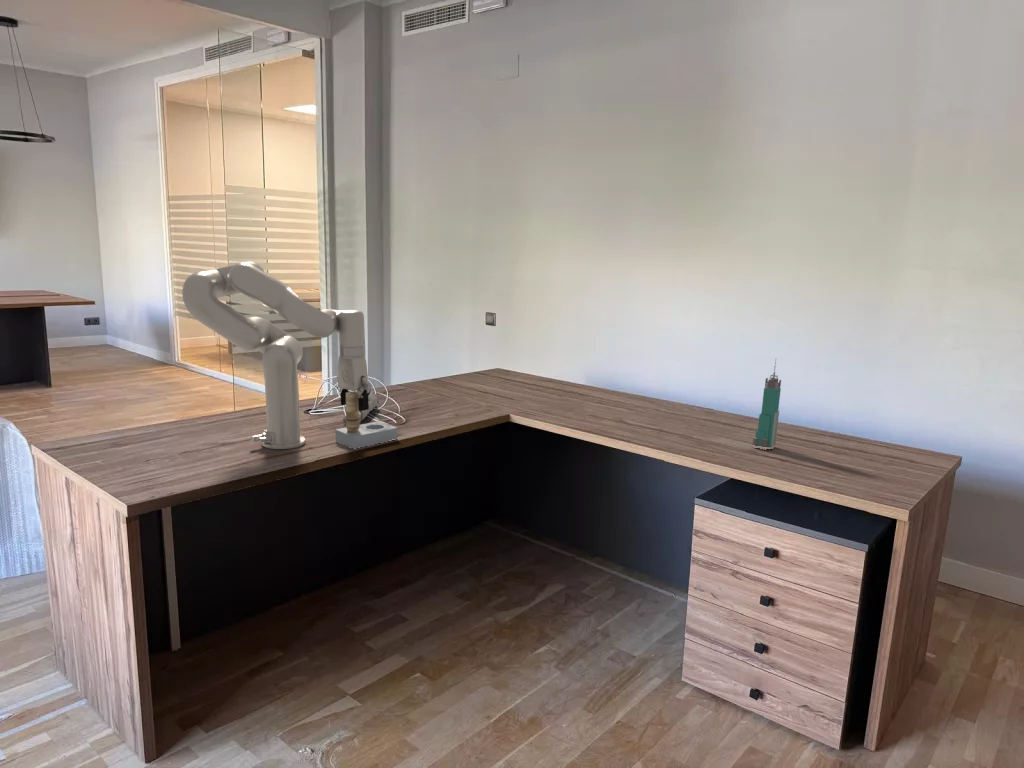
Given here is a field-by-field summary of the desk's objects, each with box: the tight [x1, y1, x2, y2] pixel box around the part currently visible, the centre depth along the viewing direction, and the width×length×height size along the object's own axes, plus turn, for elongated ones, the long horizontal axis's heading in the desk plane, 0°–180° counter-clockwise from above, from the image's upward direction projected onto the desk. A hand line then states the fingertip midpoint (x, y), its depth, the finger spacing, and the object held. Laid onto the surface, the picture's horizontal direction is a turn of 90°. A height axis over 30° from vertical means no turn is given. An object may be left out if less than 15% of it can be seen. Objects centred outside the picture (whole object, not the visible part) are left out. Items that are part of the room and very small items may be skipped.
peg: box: [345, 391, 361, 433], centre depth 214 cm, size 4×4×12 cm
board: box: [335, 420, 398, 449], centre depth 219 cm, size 16×10×4 cm, turn 135°
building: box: [752, 359, 782, 447], centre depth 224 cm, size 6×6×30 cm
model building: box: [342, 390, 379, 425], centre depth 248 cm, size 7×7×25 cm
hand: (354, 407), depth 214 cm, fingers open, 9 cm apart
